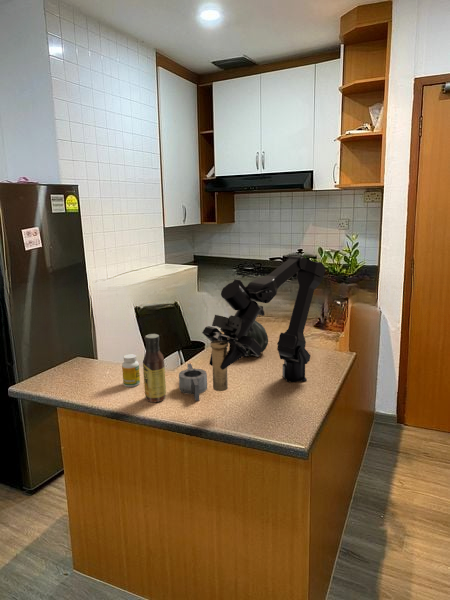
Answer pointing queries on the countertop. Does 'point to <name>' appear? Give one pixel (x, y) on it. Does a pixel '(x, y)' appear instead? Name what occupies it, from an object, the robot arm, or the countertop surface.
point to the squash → (258, 335)
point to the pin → (219, 365)
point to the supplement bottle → (130, 371)
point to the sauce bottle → (154, 370)
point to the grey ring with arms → (193, 381)
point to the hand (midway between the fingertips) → (216, 366)
